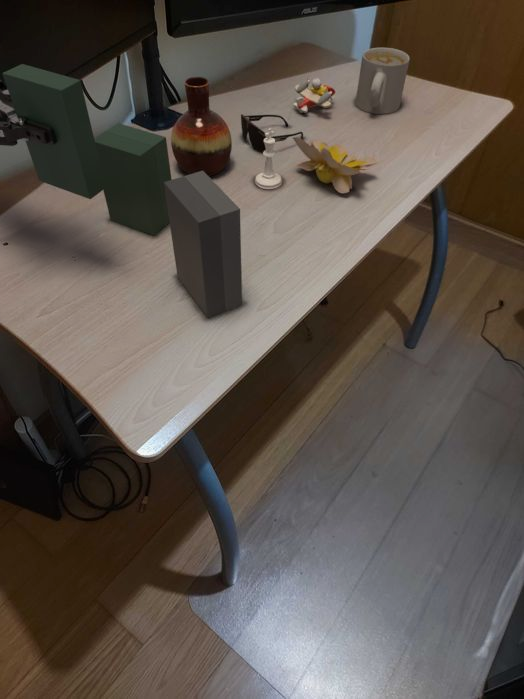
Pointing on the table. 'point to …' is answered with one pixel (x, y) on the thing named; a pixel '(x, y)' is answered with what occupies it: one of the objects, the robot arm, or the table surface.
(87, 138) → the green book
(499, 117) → the table surface
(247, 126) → the sunglasses
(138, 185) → the green rectangular block
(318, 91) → the toy airplane
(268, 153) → the chess piece
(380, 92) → the coffee mug
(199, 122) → the vase
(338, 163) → the decorative flower
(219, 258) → the grey faceted block
